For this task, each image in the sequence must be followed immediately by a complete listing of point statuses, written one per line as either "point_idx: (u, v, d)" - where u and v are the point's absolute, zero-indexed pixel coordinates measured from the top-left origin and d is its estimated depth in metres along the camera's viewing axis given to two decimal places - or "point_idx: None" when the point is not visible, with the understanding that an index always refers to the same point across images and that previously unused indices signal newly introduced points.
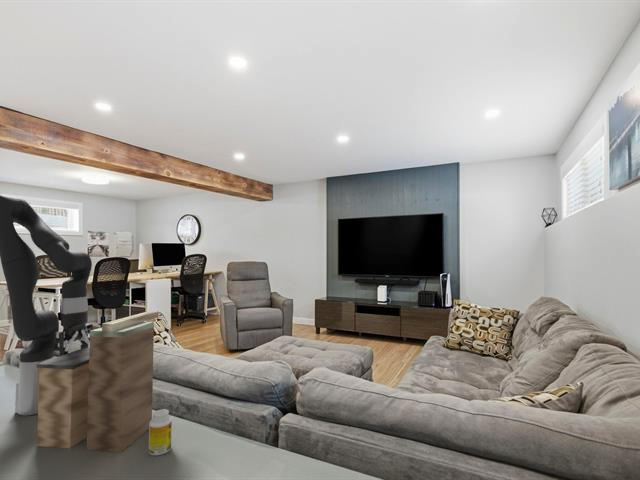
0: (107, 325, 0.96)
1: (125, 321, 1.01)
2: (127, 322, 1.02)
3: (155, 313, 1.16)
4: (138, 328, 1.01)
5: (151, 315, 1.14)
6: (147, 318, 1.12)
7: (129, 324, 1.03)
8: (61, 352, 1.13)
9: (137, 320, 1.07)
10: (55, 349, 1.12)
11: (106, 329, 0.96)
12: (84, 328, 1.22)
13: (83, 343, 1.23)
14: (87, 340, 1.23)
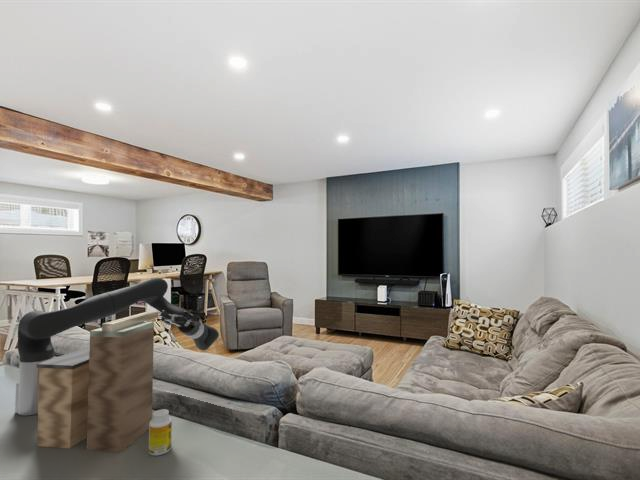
0: (107, 325, 0.96)
1: (125, 321, 1.01)
2: (127, 322, 1.02)
3: (155, 313, 1.16)
4: (138, 328, 1.01)
5: (151, 315, 1.14)
6: (147, 318, 1.12)
7: (129, 324, 1.03)
8: (190, 316, 1.32)
9: (137, 320, 1.07)
10: (197, 316, 1.33)
11: (106, 329, 0.96)
12: None
13: (168, 316, 1.34)
14: (167, 320, 1.34)
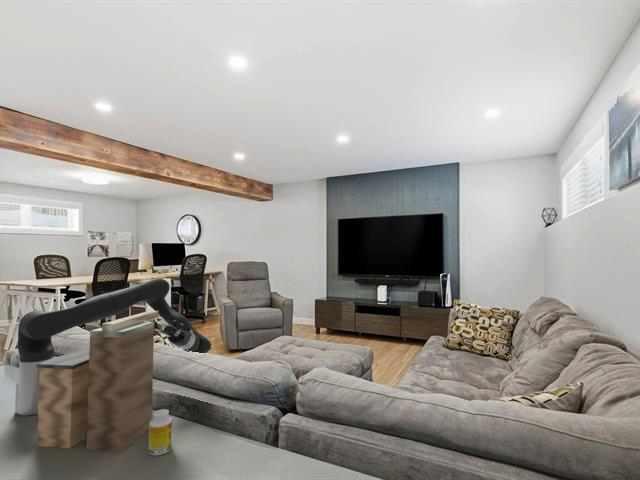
0: (107, 325, 0.96)
1: (125, 321, 1.01)
2: (127, 322, 1.02)
3: (155, 313, 1.16)
4: (138, 328, 1.01)
5: (151, 315, 1.14)
6: (147, 318, 1.12)
7: (129, 324, 1.03)
8: (181, 326, 1.25)
9: (137, 320, 1.07)
10: (187, 326, 1.26)
11: (106, 329, 0.96)
12: None
13: (157, 325, 1.27)
14: (156, 330, 1.27)
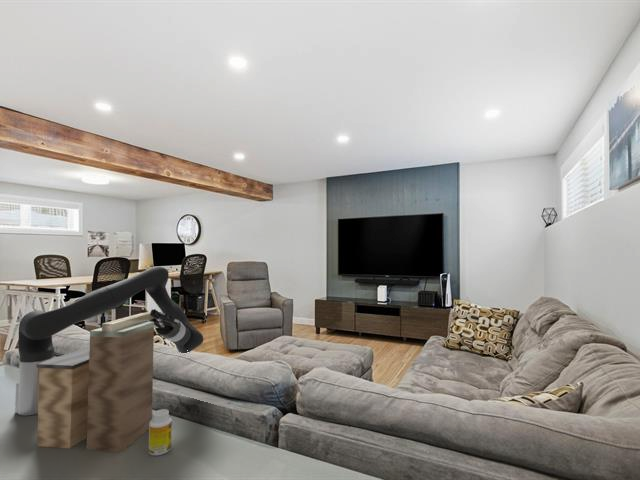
0: (107, 325, 0.96)
1: (125, 321, 1.01)
2: (127, 322, 1.02)
3: None
4: (138, 328, 1.01)
5: None
6: (147, 318, 1.12)
7: (129, 324, 1.03)
8: (160, 315, 1.16)
9: (137, 320, 1.07)
10: (167, 315, 1.17)
11: (106, 329, 0.96)
12: None
13: None
14: (148, 320, 1.18)
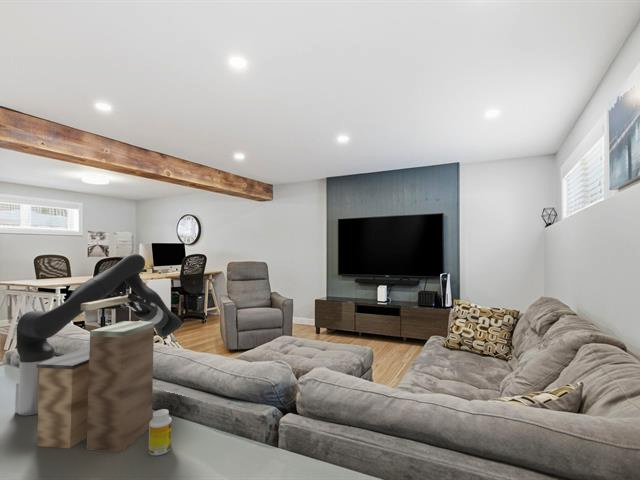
0: (85, 305, 1.07)
1: (102, 302, 1.13)
2: (104, 303, 1.13)
3: None
4: (138, 328, 1.01)
5: None
6: (124, 301, 1.23)
7: (106, 305, 1.15)
8: (137, 299, 1.28)
9: (114, 302, 1.18)
10: (143, 299, 1.29)
11: (84, 308, 1.07)
12: (131, 308, 1.34)
13: None
14: (126, 303, 1.29)
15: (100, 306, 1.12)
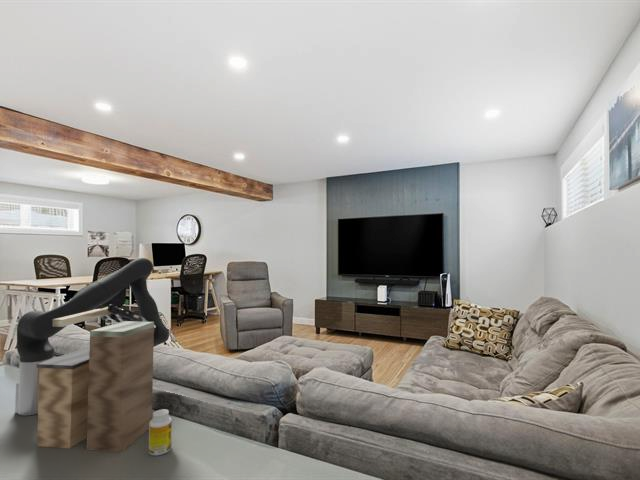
0: (58, 320, 0.98)
1: (78, 317, 1.03)
2: (80, 318, 1.04)
3: None
4: (138, 328, 1.01)
5: None
6: (104, 314, 1.13)
7: (82, 319, 1.05)
8: (118, 311, 1.18)
9: (92, 316, 1.08)
10: (125, 310, 1.19)
11: (57, 324, 0.98)
12: None
13: None
14: (107, 315, 1.19)
15: (75, 321, 1.02)
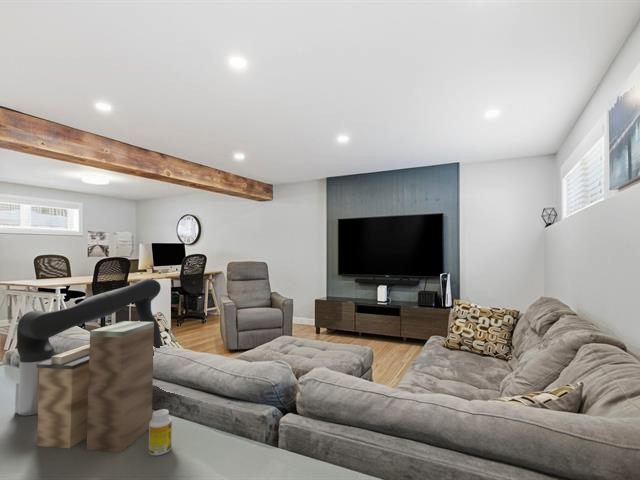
0: (56, 358, 0.97)
1: (77, 352, 1.03)
2: (79, 353, 1.03)
3: None
4: (138, 328, 1.01)
5: None
6: None
7: (81, 355, 1.04)
8: None
9: None
10: None
11: (55, 362, 0.97)
12: None
13: None
14: None
15: (74, 357, 1.02)
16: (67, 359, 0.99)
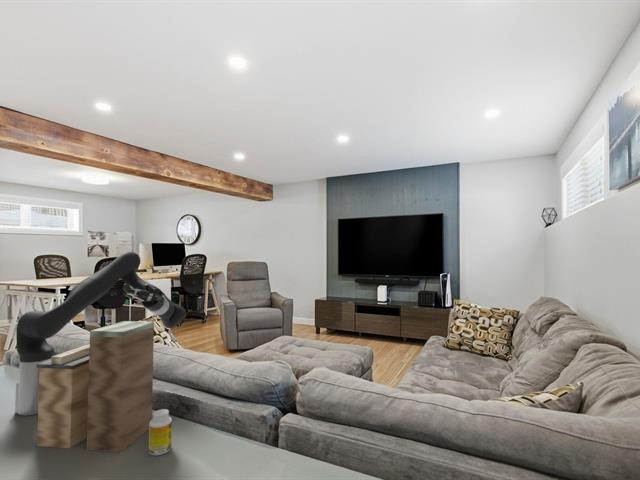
0: (56, 358, 0.97)
1: (77, 352, 1.03)
2: (79, 353, 1.03)
3: None
4: (138, 328, 1.01)
5: None
6: None
7: (81, 355, 1.04)
8: (152, 290, 1.33)
9: None
10: (159, 290, 1.35)
11: (55, 362, 0.97)
12: None
13: (130, 290, 1.35)
14: (130, 294, 1.35)
15: (74, 357, 1.02)
16: (67, 359, 0.99)
